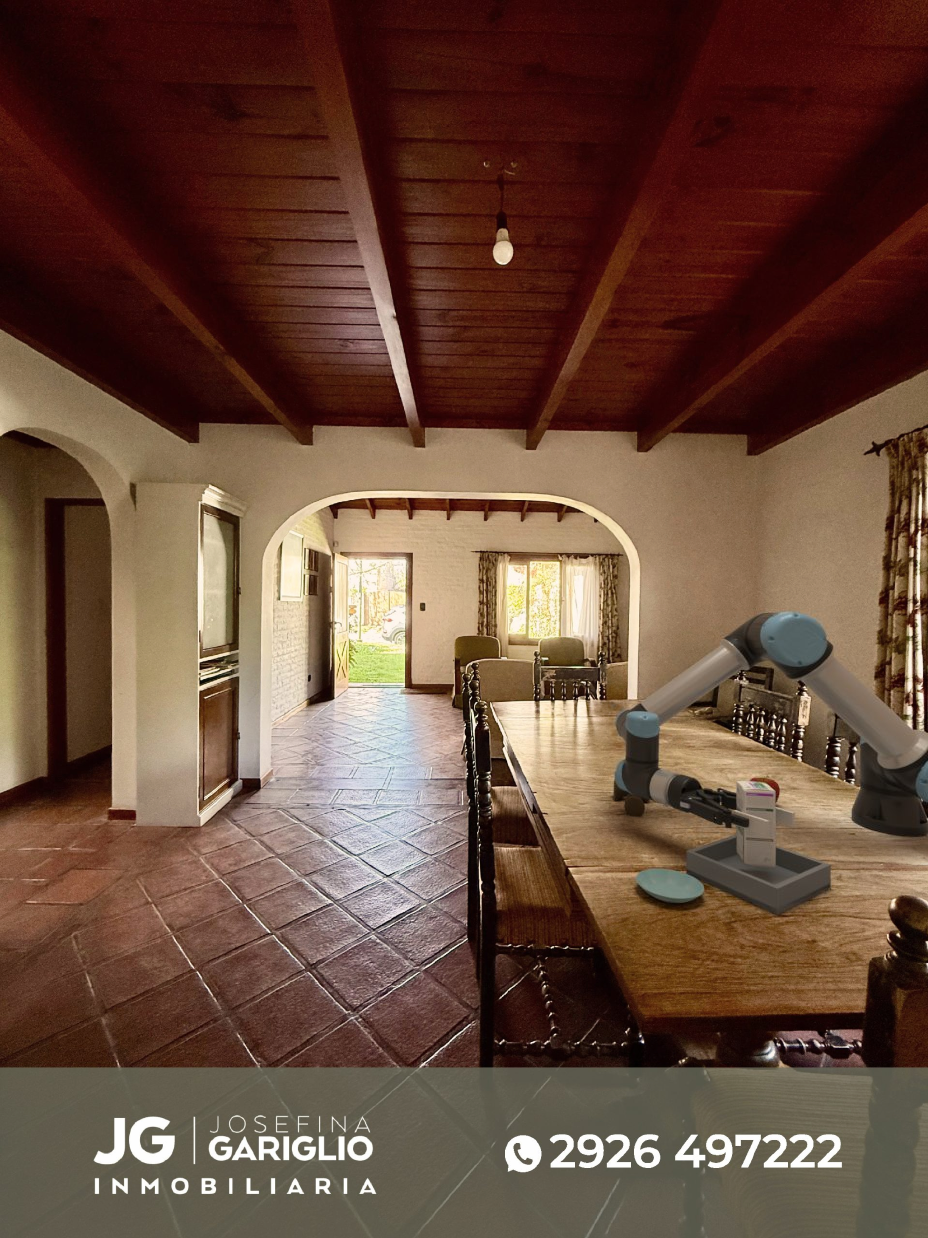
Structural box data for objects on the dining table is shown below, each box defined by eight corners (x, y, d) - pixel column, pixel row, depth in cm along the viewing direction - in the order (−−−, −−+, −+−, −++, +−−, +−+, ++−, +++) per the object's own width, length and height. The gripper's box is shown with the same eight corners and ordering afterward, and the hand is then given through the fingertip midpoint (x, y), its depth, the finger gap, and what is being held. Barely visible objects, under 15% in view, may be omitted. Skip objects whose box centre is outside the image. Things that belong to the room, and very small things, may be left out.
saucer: (647, 874, 112) (647, 862, 111) (710, 890, 105) (710, 878, 105) (626, 898, 102) (626, 885, 102) (695, 918, 95) (695, 905, 95)
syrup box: (776, 868, 105) (778, 790, 105) (742, 864, 106) (743, 788, 106) (766, 855, 110) (767, 781, 110) (734, 852, 112) (735, 779, 112)
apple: (772, 801, 155) (772, 773, 155) (785, 811, 147) (785, 781, 147) (742, 800, 156) (743, 772, 156) (754, 810, 148) (754, 780, 148)
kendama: (614, 817, 144) (612, 791, 164) (654, 822, 142) (647, 795, 161) (615, 794, 144) (613, 771, 163) (654, 798, 142) (647, 774, 161)
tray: (740, 854, 121) (740, 833, 121) (830, 888, 105) (830, 864, 105) (686, 873, 111) (686, 851, 111) (777, 915, 96) (777, 889, 96)
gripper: (705, 800, 129) (810, 833, 110) (644, 816, 118) (748, 856, 99) (706, 767, 129) (810, 795, 109) (644, 780, 118) (748, 813, 99)
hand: (780, 824), depth 104 cm, fingers closed on syrup box, 8 cm apart
